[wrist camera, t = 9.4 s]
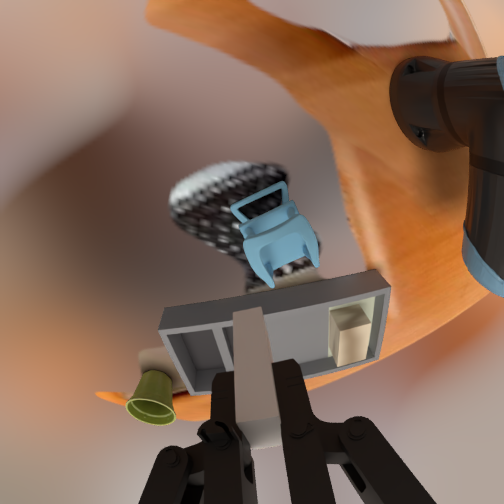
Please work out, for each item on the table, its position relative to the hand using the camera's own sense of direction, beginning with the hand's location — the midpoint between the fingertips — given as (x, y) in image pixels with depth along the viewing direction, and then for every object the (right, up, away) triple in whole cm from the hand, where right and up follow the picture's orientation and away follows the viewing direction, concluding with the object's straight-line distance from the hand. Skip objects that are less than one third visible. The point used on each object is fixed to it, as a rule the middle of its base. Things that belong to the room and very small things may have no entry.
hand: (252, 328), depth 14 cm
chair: (+2, +8, +22) cm, 24 cm away
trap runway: (+4, -9, +30) cm, 32 cm away
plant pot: (-19, -21, +34) cm, 44 cm away
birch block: (+15, -8, +28) cm, 33 cm away
